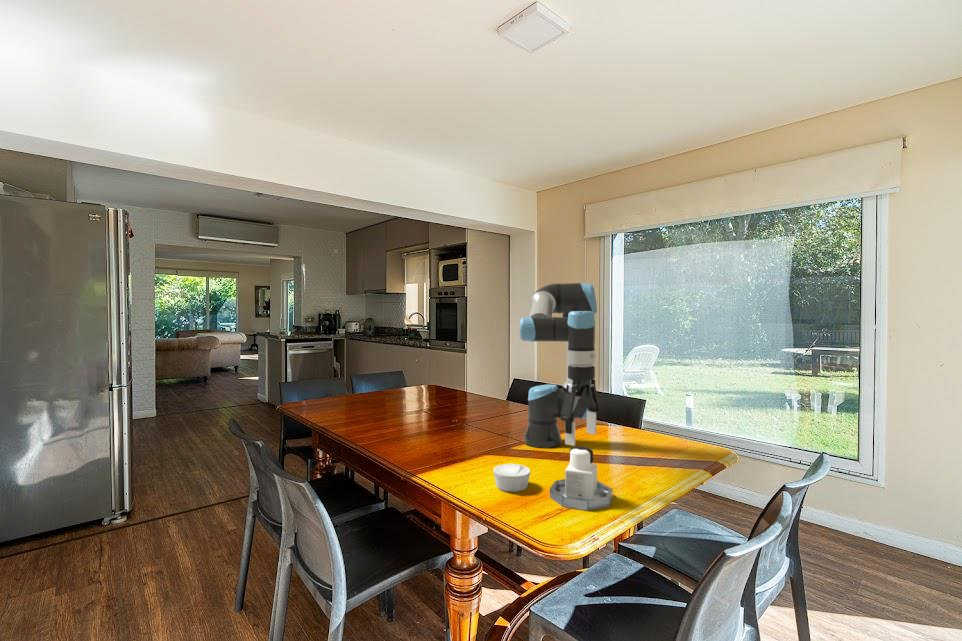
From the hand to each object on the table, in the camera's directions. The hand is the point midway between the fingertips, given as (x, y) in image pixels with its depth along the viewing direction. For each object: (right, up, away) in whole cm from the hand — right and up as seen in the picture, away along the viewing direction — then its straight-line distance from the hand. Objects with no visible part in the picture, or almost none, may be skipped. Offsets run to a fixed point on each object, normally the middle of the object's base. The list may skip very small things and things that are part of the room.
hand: (581, 439), depth 130 cm
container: (0, -16, 0) cm, 16 cm away
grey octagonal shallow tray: (0, -17, 0) cm, 17 cm away
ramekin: (-19, -17, +8) cm, 27 cm away
